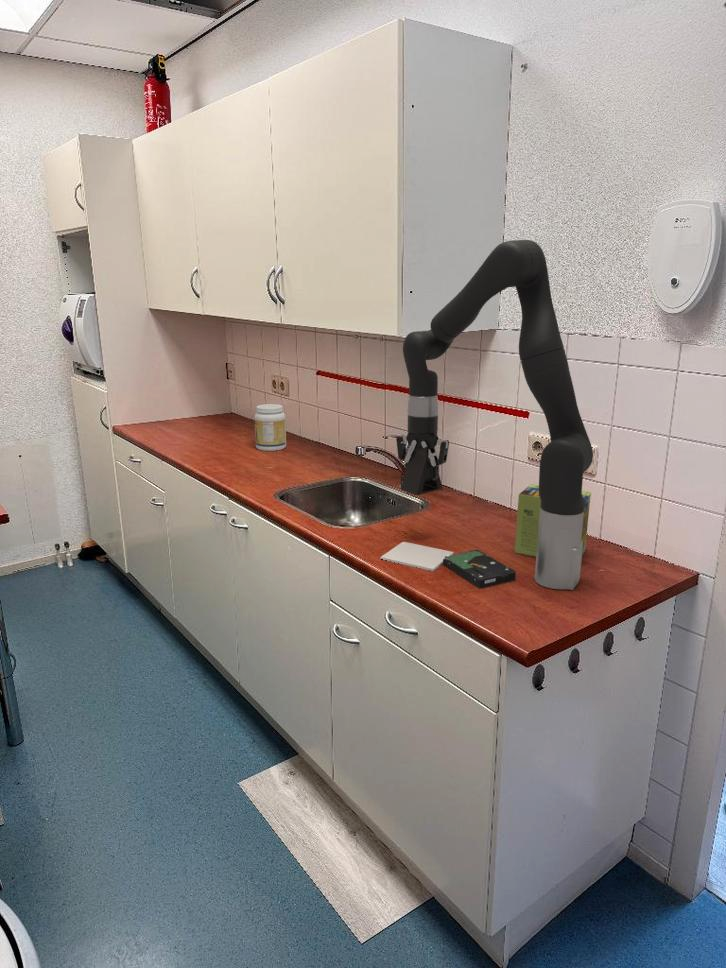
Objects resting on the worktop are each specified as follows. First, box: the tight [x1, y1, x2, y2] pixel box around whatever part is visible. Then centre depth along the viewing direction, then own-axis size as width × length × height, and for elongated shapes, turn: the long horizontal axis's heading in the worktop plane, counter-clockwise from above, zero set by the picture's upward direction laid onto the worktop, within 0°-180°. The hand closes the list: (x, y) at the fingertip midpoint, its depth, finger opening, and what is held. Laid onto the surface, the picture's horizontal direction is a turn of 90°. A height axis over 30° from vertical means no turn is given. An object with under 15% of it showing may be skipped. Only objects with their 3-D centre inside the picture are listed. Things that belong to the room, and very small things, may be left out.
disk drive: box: [442, 549, 517, 589], centre depth 160 cm, size 10×3×15 cm
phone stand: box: [400, 446, 443, 496], centre depth 175 cm, size 9×6×12 cm, turn 128°
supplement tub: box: [254, 403, 287, 452], centre depth 274 cm, size 12×12×17 cm
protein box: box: [513, 483, 592, 558], centre depth 170 cm, size 10×15×16 cm
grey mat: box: [380, 541, 455, 572], centre depth 168 cm, size 14×12×1 cm
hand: (421, 477), depth 176 cm, fingers closed on phone stand, 6 cm apart
